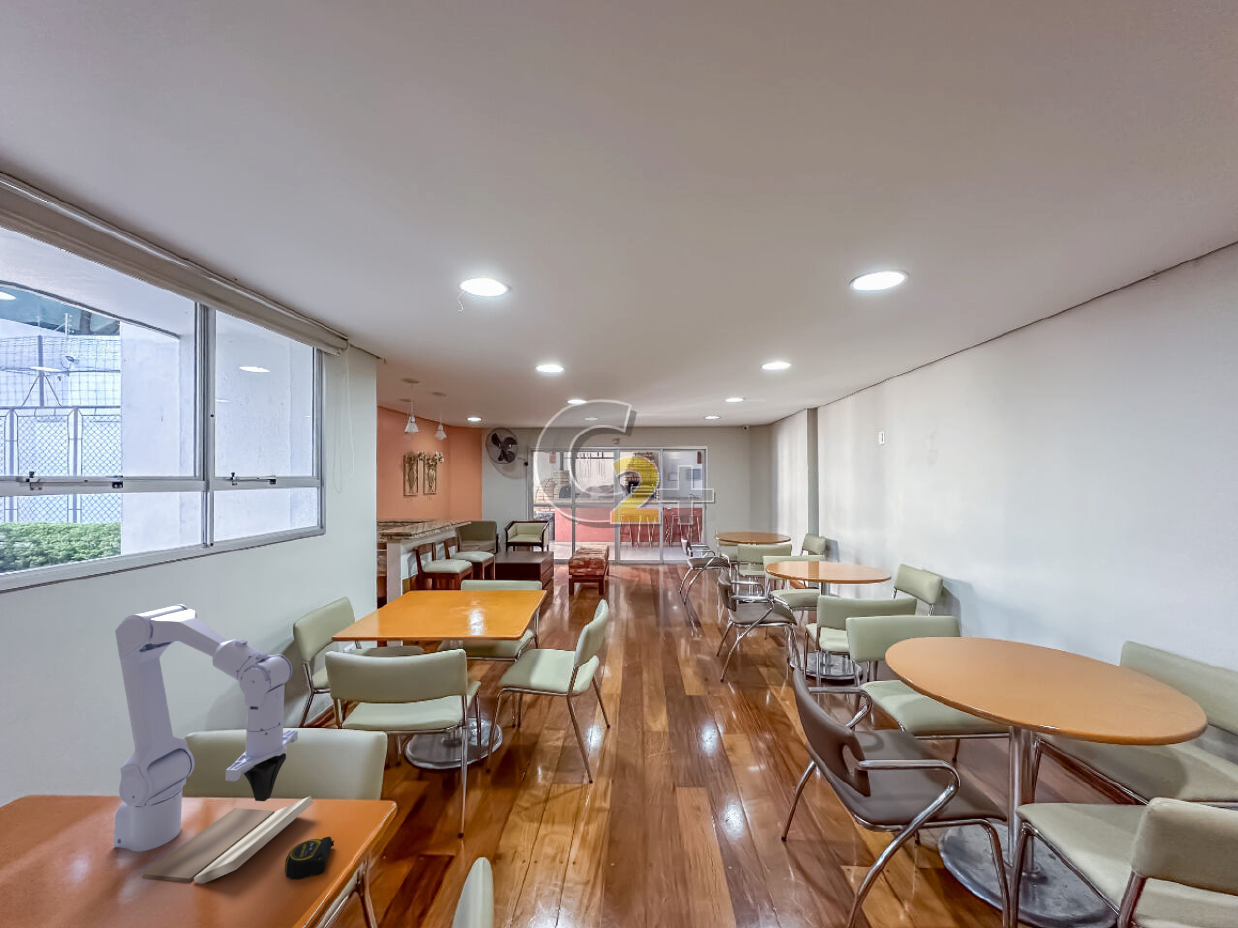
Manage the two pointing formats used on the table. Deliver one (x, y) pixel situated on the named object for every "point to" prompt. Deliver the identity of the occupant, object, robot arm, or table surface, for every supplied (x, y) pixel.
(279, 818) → the plank
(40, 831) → the table surface
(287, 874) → the tape measure
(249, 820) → the grey rectangular panel
